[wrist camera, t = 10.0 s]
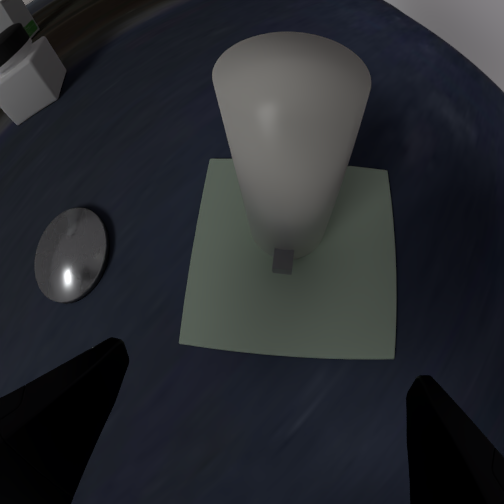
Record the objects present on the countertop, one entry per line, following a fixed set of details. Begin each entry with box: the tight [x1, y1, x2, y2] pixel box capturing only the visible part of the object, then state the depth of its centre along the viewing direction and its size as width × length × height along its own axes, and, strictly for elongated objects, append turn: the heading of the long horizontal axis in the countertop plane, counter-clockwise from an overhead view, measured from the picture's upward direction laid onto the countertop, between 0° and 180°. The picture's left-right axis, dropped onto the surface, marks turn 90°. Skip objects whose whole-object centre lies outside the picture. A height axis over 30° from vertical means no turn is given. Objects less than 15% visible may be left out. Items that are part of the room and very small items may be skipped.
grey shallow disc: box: [35, 208, 109, 304], centre depth 18 cm, size 7×7×1 cm
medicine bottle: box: [0, 23, 66, 125], centre depth 21 cm, size 7×7×12 cm
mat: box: [179, 159, 396, 359], centre depth 17 cm, size 12×12×1 cm
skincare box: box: [0, 0, 39, 38], centre depth 32 cm, size 8×7×16 cm
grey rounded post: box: [212, 32, 371, 275], centre depth 12 cm, size 6×4×11 cm
